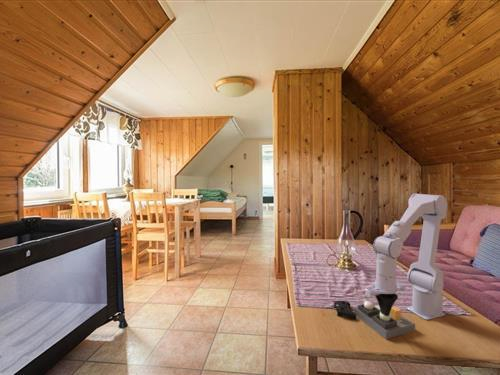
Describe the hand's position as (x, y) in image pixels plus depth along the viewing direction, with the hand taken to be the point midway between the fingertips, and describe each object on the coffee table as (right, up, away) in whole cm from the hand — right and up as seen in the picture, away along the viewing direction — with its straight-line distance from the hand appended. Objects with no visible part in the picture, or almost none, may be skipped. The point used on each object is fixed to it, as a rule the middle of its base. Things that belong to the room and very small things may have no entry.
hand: (384, 314), depth 81 cm
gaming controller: (-9, -5, +11) cm, 16 cm away
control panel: (+2, -5, +5) cm, 7 cm away
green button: (0, -2, 0) cm, 2 cm away
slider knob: (+5, -3, +3) cm, 6 cm away
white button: (-2, -1, +7) cm, 7 cm away
